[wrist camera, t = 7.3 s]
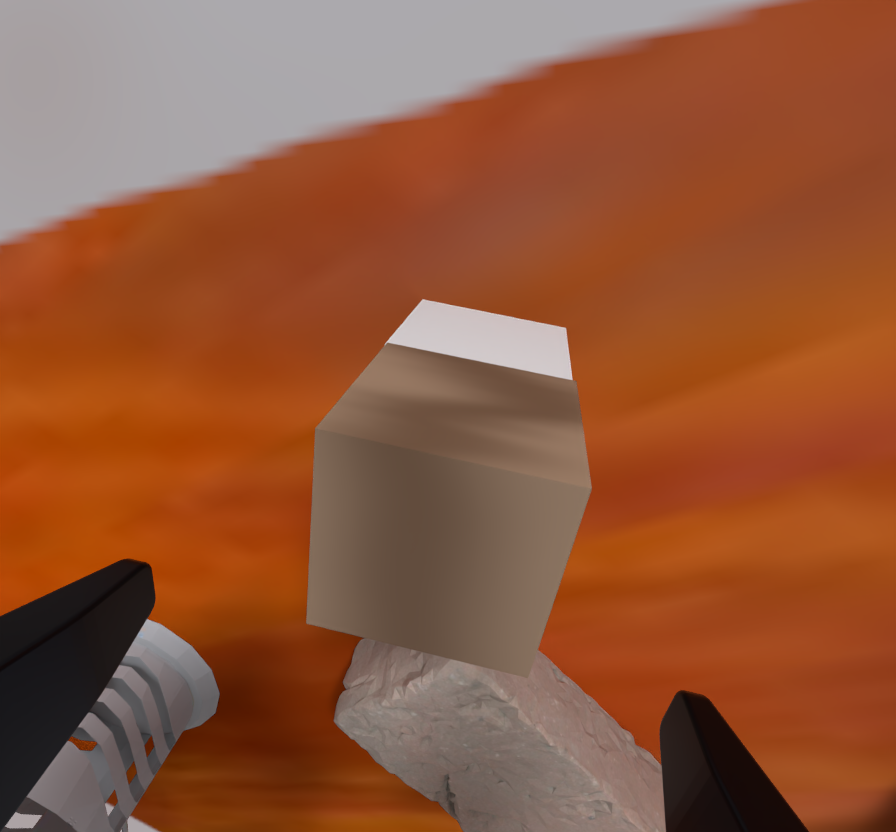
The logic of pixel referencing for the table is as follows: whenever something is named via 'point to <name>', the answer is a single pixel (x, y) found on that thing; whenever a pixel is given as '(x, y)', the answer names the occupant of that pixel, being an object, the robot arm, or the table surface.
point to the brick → (499, 744)
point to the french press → (125, 736)
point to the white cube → (486, 338)
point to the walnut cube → (446, 506)
